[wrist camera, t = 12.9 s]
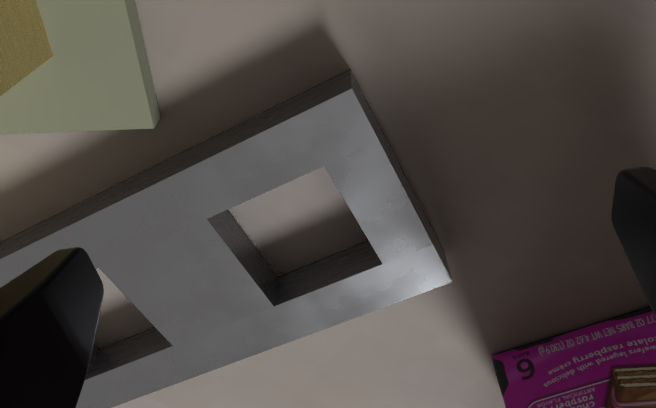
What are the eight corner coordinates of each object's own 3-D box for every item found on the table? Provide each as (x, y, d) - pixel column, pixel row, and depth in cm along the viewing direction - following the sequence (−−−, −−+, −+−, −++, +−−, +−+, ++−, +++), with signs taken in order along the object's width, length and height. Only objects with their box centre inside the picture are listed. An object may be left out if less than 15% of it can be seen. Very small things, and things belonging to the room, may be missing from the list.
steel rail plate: (350, 69, 21) (351, 88, 20) (444, 253, 26) (452, 281, 24) (-45, 264, 27) (-70, 293, 25) (94, 388, 32) (80, 418, 30)
